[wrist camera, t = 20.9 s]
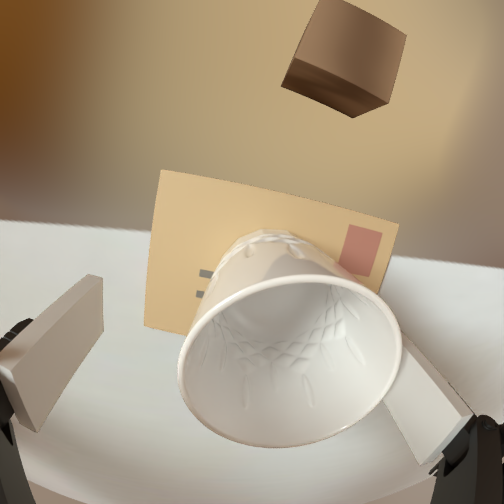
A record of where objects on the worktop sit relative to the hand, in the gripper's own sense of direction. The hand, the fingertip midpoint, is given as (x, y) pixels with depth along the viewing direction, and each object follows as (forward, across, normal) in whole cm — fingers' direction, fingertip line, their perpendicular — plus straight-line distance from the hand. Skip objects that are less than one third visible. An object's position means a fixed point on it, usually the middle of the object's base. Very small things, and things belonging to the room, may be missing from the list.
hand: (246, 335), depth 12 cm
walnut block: (+7, +3, +15) cm, 16 cm away
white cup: (+7, +2, 0) cm, 7 cm away
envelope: (+7, +2, 0) cm, 7 cm away
